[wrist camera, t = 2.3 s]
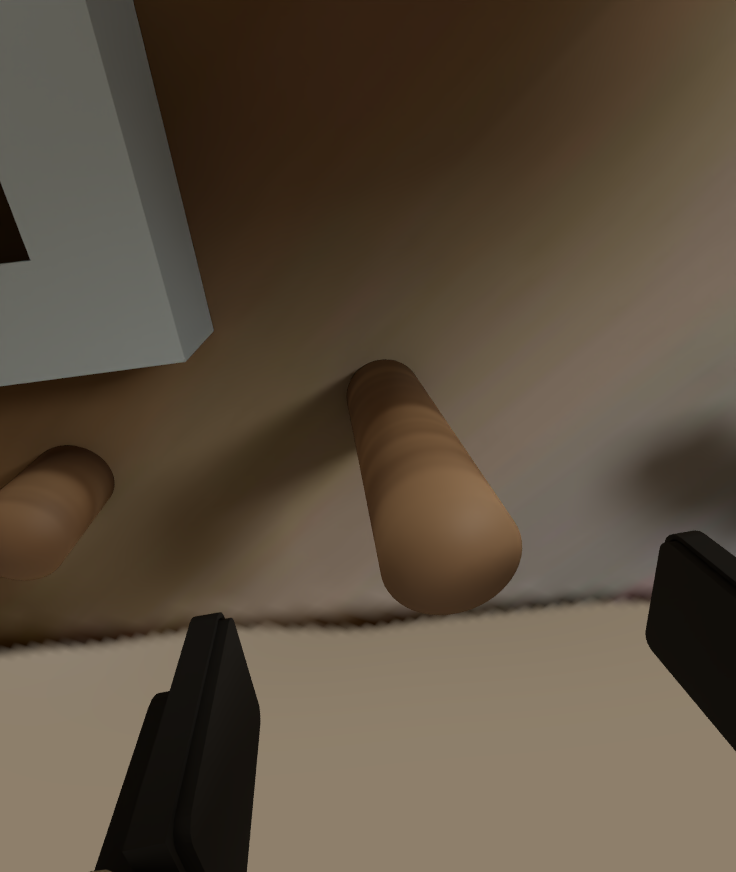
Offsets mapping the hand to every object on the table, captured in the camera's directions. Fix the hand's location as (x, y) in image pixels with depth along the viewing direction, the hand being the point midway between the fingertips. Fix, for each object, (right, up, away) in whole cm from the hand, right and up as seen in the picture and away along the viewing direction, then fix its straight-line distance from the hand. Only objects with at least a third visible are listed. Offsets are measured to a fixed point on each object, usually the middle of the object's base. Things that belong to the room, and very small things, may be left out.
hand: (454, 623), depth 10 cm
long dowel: (-1, +6, +12) cm, 14 cm away
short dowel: (-16, +2, +12) cm, 20 cm away
